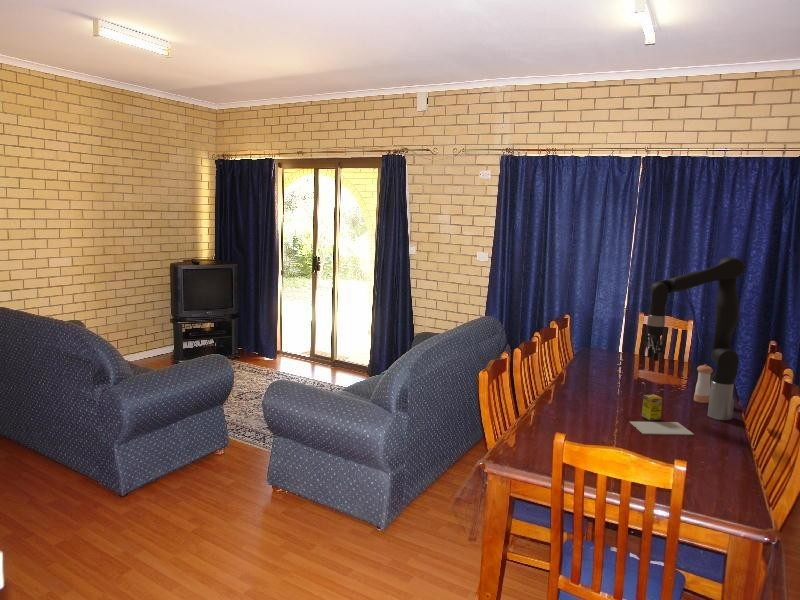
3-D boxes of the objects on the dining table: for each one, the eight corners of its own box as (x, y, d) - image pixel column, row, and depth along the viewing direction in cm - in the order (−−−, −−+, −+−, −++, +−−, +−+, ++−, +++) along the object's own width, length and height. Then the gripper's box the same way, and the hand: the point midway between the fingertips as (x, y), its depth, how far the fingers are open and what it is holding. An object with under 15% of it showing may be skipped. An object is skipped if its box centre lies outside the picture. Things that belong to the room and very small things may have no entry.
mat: (677, 423, 260) (677, 422, 260) (693, 435, 246) (693, 434, 246) (629, 422, 260) (629, 421, 260) (643, 434, 246) (643, 433, 246)
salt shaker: (711, 403, 289) (715, 367, 286) (696, 402, 290) (699, 365, 288) (707, 399, 296) (710, 363, 293) (691, 398, 297) (695, 362, 295)
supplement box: (649, 421, 261) (652, 398, 260) (641, 417, 267) (643, 394, 265) (660, 420, 263) (663, 398, 261) (651, 416, 268) (654, 393, 267)
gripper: (671, 327, 263) (667, 363, 266) (656, 321, 278) (653, 355, 280) (655, 327, 263) (651, 362, 266) (641, 321, 277) (638, 355, 280)
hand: (652, 358), depth 273 cm, fingers open, 5 cm apart
